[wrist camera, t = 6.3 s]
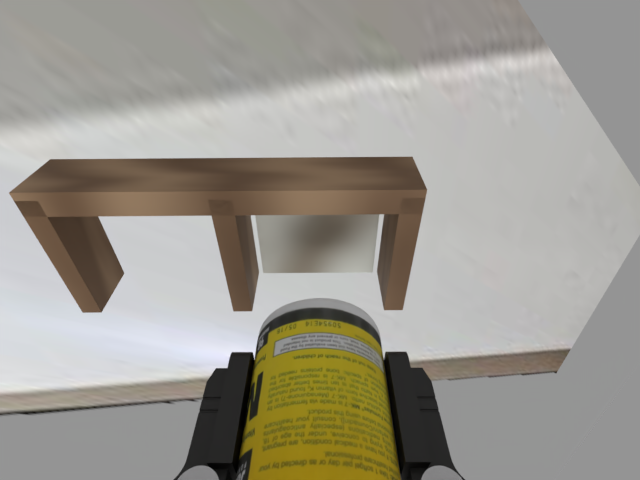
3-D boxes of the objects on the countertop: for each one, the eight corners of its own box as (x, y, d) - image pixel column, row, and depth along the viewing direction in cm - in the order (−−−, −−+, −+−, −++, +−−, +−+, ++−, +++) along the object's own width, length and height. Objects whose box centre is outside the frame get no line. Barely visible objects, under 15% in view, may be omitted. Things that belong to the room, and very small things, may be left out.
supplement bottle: (246, 298, 13) (173, 644, 7) (378, 287, 13) (438, 642, 6) (272, 372, 16) (240, 662, 10) (380, 365, 16) (422, 662, 9)
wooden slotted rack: (107, 273, 22) (82, 312, 20) (50, 159, 17) (8, 192, 15) (393, 271, 22) (402, 310, 20) (412, 156, 17) (427, 189, 15)
